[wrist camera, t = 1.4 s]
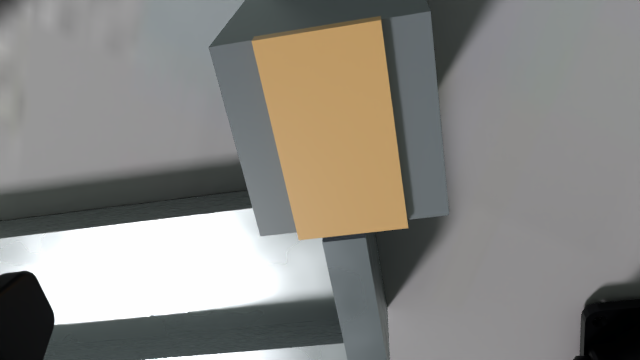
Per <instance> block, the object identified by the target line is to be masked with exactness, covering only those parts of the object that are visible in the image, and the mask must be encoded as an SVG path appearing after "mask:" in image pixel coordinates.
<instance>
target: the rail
mask: <svg viewBox="0 0 640 360" xmlns="http://www.w3.org/2000/svg"><path fill="white" fill-rule="evenodd" d="M18 271H29V272H31V273H33V274H34V275H35V276H36V278H37V279H38V281H39V283H40V285H41V287H42V289H43V291H44V293H45V295H46V297H47V299H48V301H49V303H50V305H51V307H52V309H53V312H54V316H55V323H54V329H53V332H52V335H51V338H50V341H49V344H48V347H47V350H46V353H45V356H44V360H390V354H389V332H388V311H387V303H386V297H385V291H384V285H383V279H382V272H381V266H380V260H379V254H378V248H377V242H376V236H375V232H369V233H360V234H351V235H342V236H333V237H324V238H315V239H306V240H299V239H298V235H297V232H296V233H287V234H278V235H269V236H260V233H259V230H258V226H257V222H256V219H255V215H254V211H253V208H252V204H251V200H250V197H249V193H248V190H247V191H239V192H231V193H223V194H215V195H207V196H199V197H191V198H183V199H175V200H167V201H159V202H151V203H143V204H135V205H127V206H119V207H111V208H103V209H95V210H87V211H79V212H71V213H63V214H55V215H47V216H39V217H31V218H23V219H15V220H7V221H0V275H1V274H4V273H9V272H18Z"/></svg>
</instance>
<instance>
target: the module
mask: <svg viewBox="0 0 640 360" xmlns="http://www.w3.org/2000/svg"><path fill="white" fill-rule="evenodd" d="M209 50H210V54H211V57H212V61H213V65H214V68H215V72H216V76H217V79H218V83H219V87H220V90H221V94H222V98H223V101H224V105H225V109H226V112H227V116H228V120H229V123H230V127H231V131H232V134H233V138H234V142H235V145H236V149H237V153H238V156H239V160H240V164H241V167H242V171H243V175H244V178H245V182H246V186H247V189H248V193H249V197H250V200H251V204H252V208H253V211H254V215H255V219H256V222H257V226H258V230H259V233H260V236H269V235H278V234H287V233H296V232H297V235H298V239H299V240H306V239H315V238H324V237H333V236H342V235H351V234H360V233H369V232H378V231H387V230H396V229H405V228H408V222H407V220H410V219H419V218H428V217H437V216H446V215H449V207H448V196H447V185H446V174H445V163H444V152H443V141H442V130H441V119H440V109H439V98H438V87H437V76H436V65H435V54H434V43H433V32H432V21H431V11H430V8H429V6H428V3H427V1H426V0H245V1H244V3H243V4H242V5H241V6H240V8H239V9H238V10H237V12H236V13H235V14H234V15H233V17H232V18H231V19H230V21H229V22H228V23H227V24H226V26H225V27H224V28H223V30H222V31H221V32H220V33H219V35H218V36H217V37H216V39H215V40H214V41H213V42H212V44H211V45H210V46H209Z"/></svg>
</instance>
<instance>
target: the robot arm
mask: <svg viewBox="0 0 640 360" xmlns="http://www.w3.org/2000/svg"><path fill="white" fill-rule="evenodd" d="M599 316H602V317H601V318H600V319H596V320H595V318H596V317H599ZM54 323H55V316H54V312H53V309H52V307H51V305H50V303H49V301H48V299H47V297H46V295H45V293H44V291H43V289H42V287H41V285H40V283H39V281H38V279H37V278H36V276H35V275H34V274H33V273H31V272H29V271H18V272H9V273H4V274H1V275H0V360H44V356H45V353H46V350H47V347H48V344H49V341H50V338H51V335H52V332H53V329H54ZM573 360H640V299H637V300H626V301H615V302H604V303H595V304H591V305H589V306H587V307H586V308H585V309H584V310H583V311H582V314H581V336H580V356H576V357H575V358H574V359H573Z"/></svg>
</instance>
